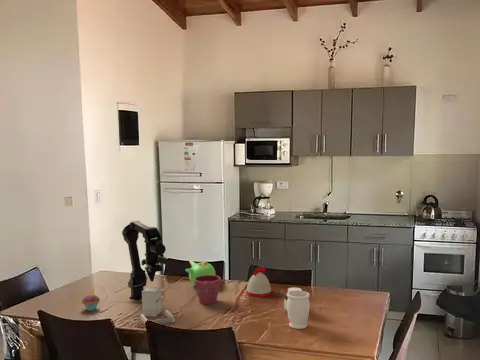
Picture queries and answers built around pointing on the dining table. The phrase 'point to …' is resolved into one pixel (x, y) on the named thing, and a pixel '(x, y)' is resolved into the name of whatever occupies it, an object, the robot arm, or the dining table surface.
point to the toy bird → (200, 270)
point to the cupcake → (91, 301)
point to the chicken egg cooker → (259, 284)
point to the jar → (298, 309)
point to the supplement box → (151, 301)
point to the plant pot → (207, 288)
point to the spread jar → (287, 297)
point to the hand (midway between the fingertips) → (152, 281)
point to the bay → (163, 320)
